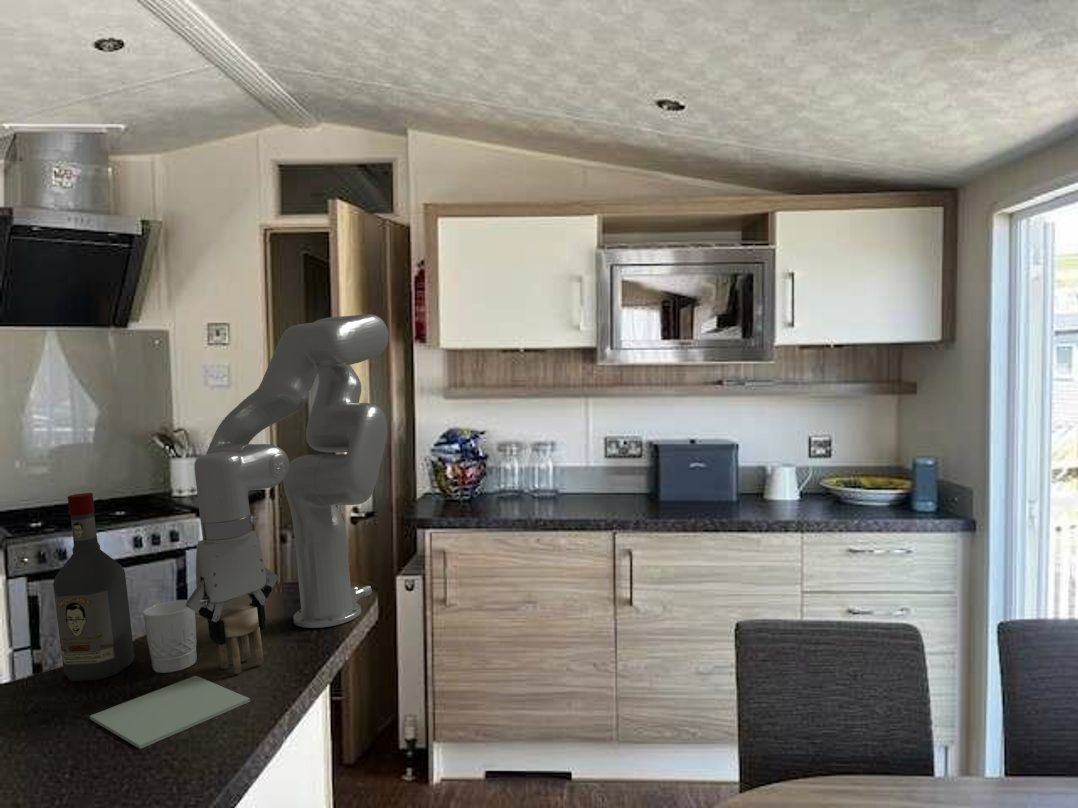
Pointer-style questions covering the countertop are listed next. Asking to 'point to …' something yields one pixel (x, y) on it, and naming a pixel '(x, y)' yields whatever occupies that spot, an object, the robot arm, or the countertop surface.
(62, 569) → the liquor
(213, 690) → the sage mat
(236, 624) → the round tan stool
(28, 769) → the countertop surface
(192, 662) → the white cup
